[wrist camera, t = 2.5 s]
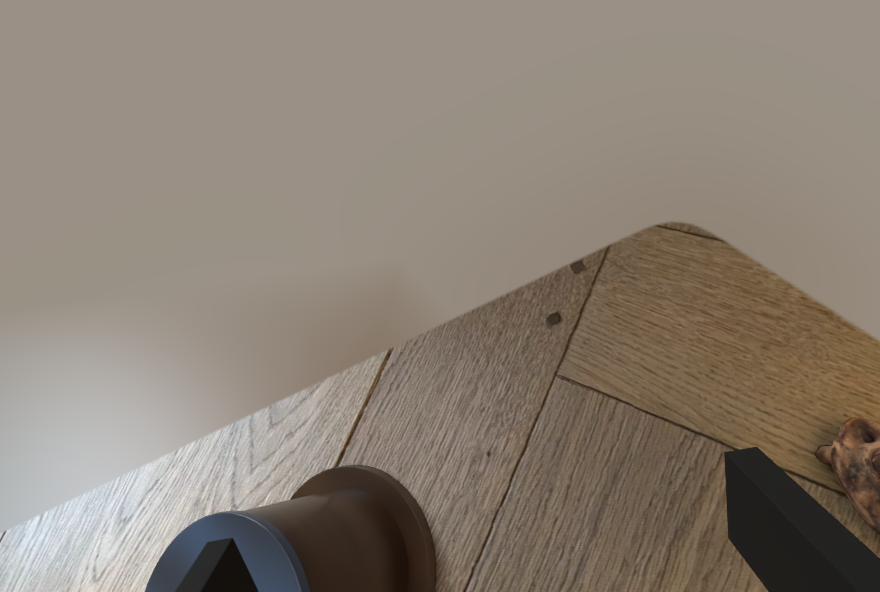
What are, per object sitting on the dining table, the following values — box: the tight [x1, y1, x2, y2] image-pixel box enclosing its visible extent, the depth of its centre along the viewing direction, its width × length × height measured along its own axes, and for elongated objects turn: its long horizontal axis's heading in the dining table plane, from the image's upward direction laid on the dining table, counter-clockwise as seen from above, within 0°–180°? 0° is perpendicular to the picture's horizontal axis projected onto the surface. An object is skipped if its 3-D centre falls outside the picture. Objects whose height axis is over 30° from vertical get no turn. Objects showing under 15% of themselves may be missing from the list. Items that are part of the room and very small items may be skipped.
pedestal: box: [145, 465, 436, 592], centre depth 25 cm, size 13×13×12 cm
